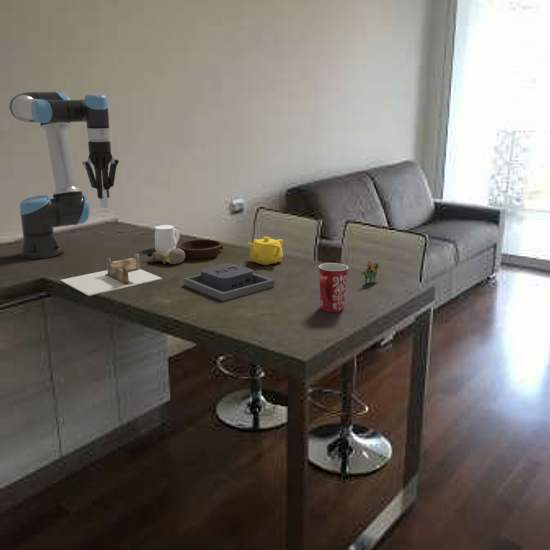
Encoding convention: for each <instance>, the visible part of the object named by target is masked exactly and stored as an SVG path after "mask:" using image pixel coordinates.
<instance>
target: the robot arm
mask: <svg viewBox="0 0 550 550" xmlns="http://www.w3.org/2000/svg"><path fill="white" fill-rule="evenodd" d="M9 110H10V113H11V115H12V116H13V117H14V118H15V119H16V120H19V121H22V122H25V123H38V124H40V128H41V129H43V130H44V131H45V135H46V141H47V146H48V152H49V158H50V163H51V169H52V176H53V181H54V188H55V189H54V192H53V193H52V198H51V197H50V195H45V194H44V195H43V194H42V195H35V196H32V197H31V196H30V197H27V198H25V199H23V200H21V201H20V203H19V215H20V221H21V228H22V235H23V236H22V242H21V247H20V250H19V251H20V256H21V258H23V259H30V260H32V259H33V260H34V259H35V260H38V259H47V258H48V259H49V258H52V257H55V256H58V255H60V254H61V247H60V246H59V242H58V240H57V239H56V236H55V233H54V232H55V231H54V228H60V227H67V226H77V225H81V224H84V223H86V222H87V221H88V219H89V216H90V212H91V211H90V209H91V208H90V201H89V198H88V196H86V195H85V194H83V191H82V190H81V189H80V188H79V187H78V183H77V177H76V171H75V166H74V161H73V155H72V148H71V142H70V135H69V130H68V129H69V128H70V126H71V124H72V123H82V122H83V123H86V131H87V132H86V133H87V134H86V135H87V140H89V141H88V142H87V143H88V144H87V145H88V152H89V153H88V157H87V160H85V161H82V165H83V167H84V168H85V170H86V174H87V177H88V179H89V183H90V186H91V188H93V189H95V190H96V192H97V198H98V199H99V202H100V203H99V204H100V208H103V209H107V208H108V207H109V205H108V204H109V203H108V198H110V189H111V188H113V187H114V186H115V179H116V173H117V172H116V170H117V166H118V164H119V163H120V162H119V161H120V160H119V159H116V158H115V157H114V156H113V154H112V146H111V145H112V144H111V141H110V140H111V133H110V118H109V102H108V97H107V96H106V95H105V94H85V95H84V99H71V98H70V97H69V96H68V95H67V94H66V93H65V92H58V91H36V92H35V91H27V92H21V93H18V94H16V95H15V96H13V97H12V98H11V100H10V102H9ZM92 165H93V168H94V170H93V168H92ZM109 165H110V166H109Z"/></svg>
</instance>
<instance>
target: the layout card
mask: <svg viewBox="0 0 550 550" xmlns="http://www.w3.org/2000/svg"><path fill="white" fill-rule="evenodd" d="M128 278H129V283H127V284H124V283H123V282H121V281H119V280H118V279H116V278H114V277H112V276H111V275H108V269H106V270H102V271H96V272H93V273H87V274H86V273H85V274H82V275H77V276H72V277H68V278H62V279H60V282H61V283H64V284H66V285H67V286H69V287H71V288H73V289H74V290H76V291H78V292H80V293H82V294H84V295H86V296H87V297H91V296H95V295H99V294H105V293H107V292H112V291H116V290H120V289H125V288H130V287H134V286H139V285H143V283H144V284H147V283H150V282H157V281H161V280H163V278H162V277H160V276H158V275H156V274H153V273H151V272H148V271H146V270H143V269H141V268H140V269H133V270H128Z"/></svg>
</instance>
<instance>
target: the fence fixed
mask: <svg viewBox="0 0 550 550" xmlns="http://www.w3.org/2000/svg"><path fill="white" fill-rule="evenodd" d="M109 264H114V265H116V266H118V267H120V268H128V270H133V269H141V268H140V267H141V266H140V255H139V253H134V254H133V257H130V258H125V259H121V260H114V261H112V260H111V258H108V257H107V258H106V266H107V267H106V268H107V269H106V270H108V275H110V272H109Z"/></svg>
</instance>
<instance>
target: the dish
mask: <svg viewBox="0 0 550 550" xmlns="http://www.w3.org/2000/svg"><path fill="white" fill-rule="evenodd" d="M177 246H178V248H179V249H182V250H183V251H184V253H185V258H187V259H190V260H191V259H192V260H203V259H204V260H205V259H207V260H208V259H212V258H215V257H216V256H217V255H218V254H219V253H220V251H221V250H224V245H223V242H221V241H218V240H212V239H206V238H205V239H199V238H198V239H197V238H196V239H190V240H185V241H183V242H180V243H179V244H177Z"/></svg>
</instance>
